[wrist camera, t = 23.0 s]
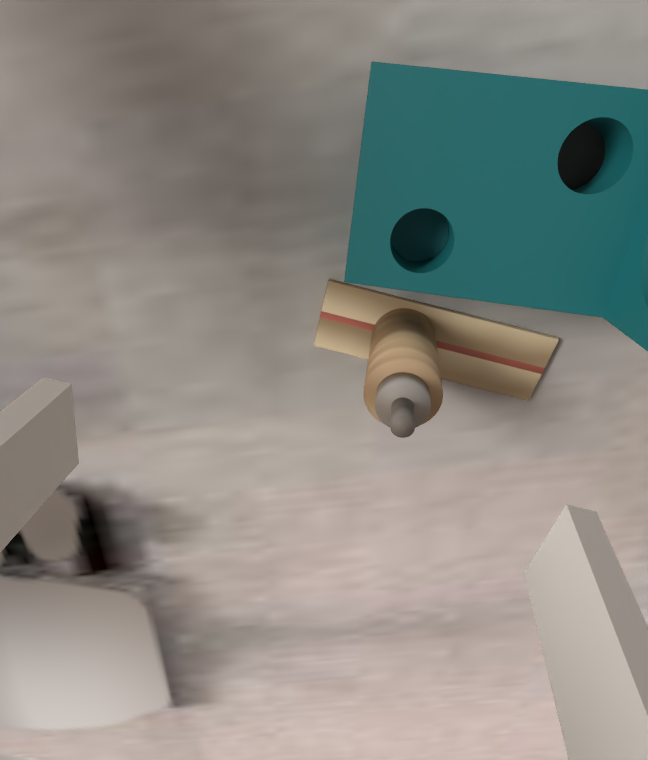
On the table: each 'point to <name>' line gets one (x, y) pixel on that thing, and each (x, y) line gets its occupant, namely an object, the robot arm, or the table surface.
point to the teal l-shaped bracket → (502, 193)
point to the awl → (403, 371)
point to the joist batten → (441, 339)
